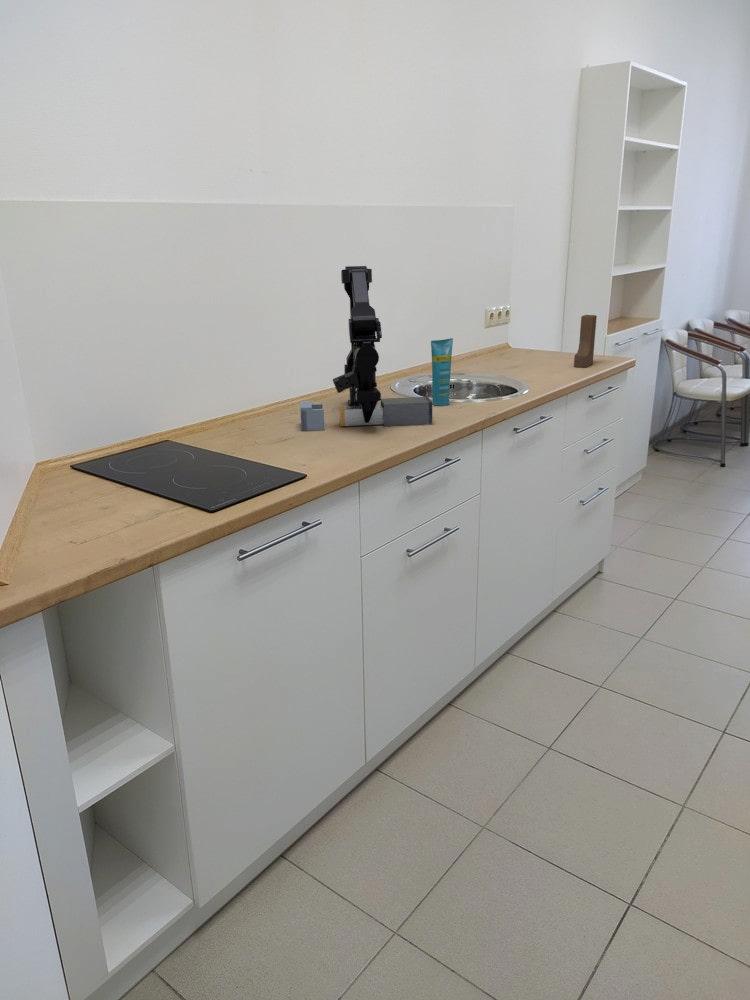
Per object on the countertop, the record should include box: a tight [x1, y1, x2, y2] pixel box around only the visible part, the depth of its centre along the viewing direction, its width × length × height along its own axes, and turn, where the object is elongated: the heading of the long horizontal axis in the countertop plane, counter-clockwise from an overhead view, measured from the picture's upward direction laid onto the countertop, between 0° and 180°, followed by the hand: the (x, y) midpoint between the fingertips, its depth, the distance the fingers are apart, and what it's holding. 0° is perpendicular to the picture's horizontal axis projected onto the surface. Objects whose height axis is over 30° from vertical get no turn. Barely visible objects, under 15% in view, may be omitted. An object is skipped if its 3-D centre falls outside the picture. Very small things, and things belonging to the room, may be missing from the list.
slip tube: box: [338, 404, 384, 427], centre depth 198 cm, size 4×22×4 cm, turn 97°
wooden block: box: [573, 314, 598, 369], centre depth 270 cm, size 9×4×18 cm, turn 147°
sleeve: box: [380, 396, 433, 427], centre depth 199 cm, size 7×13×6 cm, turn 97°
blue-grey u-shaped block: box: [299, 400, 325, 432], centre depth 196 cm, size 8×6×6 cm
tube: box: [430, 337, 454, 407], centre depth 216 cm, size 7×5×19 cm, turn 123°
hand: (366, 420), depth 199 cm, fingers closed on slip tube, 4 cm apart
